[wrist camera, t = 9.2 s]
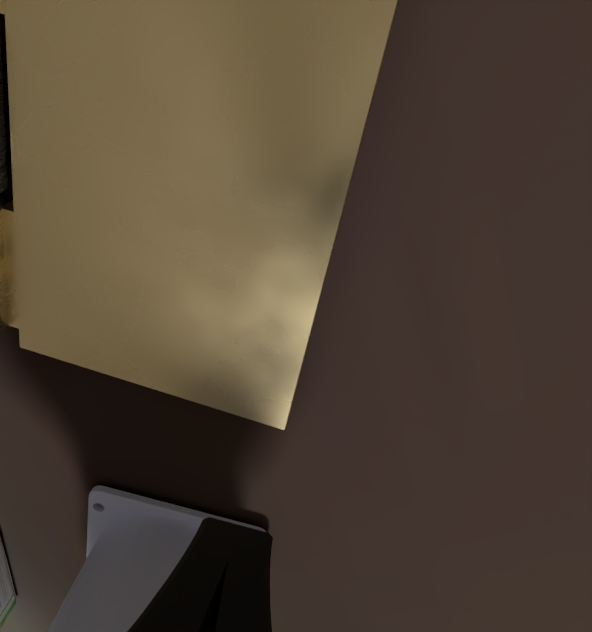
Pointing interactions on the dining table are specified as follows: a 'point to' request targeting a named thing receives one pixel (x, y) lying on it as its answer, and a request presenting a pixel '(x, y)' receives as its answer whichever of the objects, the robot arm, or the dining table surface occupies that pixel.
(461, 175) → the dining table surface
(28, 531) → the dining table surface
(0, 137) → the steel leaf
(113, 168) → the brass leaf
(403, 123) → the dining table surface
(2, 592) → the syrup box
